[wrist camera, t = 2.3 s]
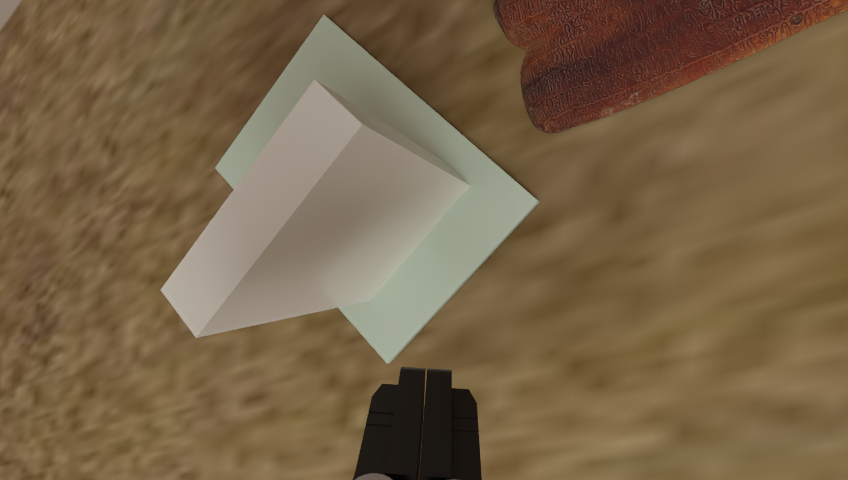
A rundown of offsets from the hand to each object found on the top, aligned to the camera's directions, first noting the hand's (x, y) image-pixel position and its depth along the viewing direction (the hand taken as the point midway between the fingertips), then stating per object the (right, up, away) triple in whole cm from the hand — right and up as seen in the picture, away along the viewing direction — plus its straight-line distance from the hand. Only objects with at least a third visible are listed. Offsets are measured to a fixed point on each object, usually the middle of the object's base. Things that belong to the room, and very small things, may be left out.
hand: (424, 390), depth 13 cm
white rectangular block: (-1, +5, +16) cm, 16 cm away
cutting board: (-4, +8, +18) cm, 20 cm away
